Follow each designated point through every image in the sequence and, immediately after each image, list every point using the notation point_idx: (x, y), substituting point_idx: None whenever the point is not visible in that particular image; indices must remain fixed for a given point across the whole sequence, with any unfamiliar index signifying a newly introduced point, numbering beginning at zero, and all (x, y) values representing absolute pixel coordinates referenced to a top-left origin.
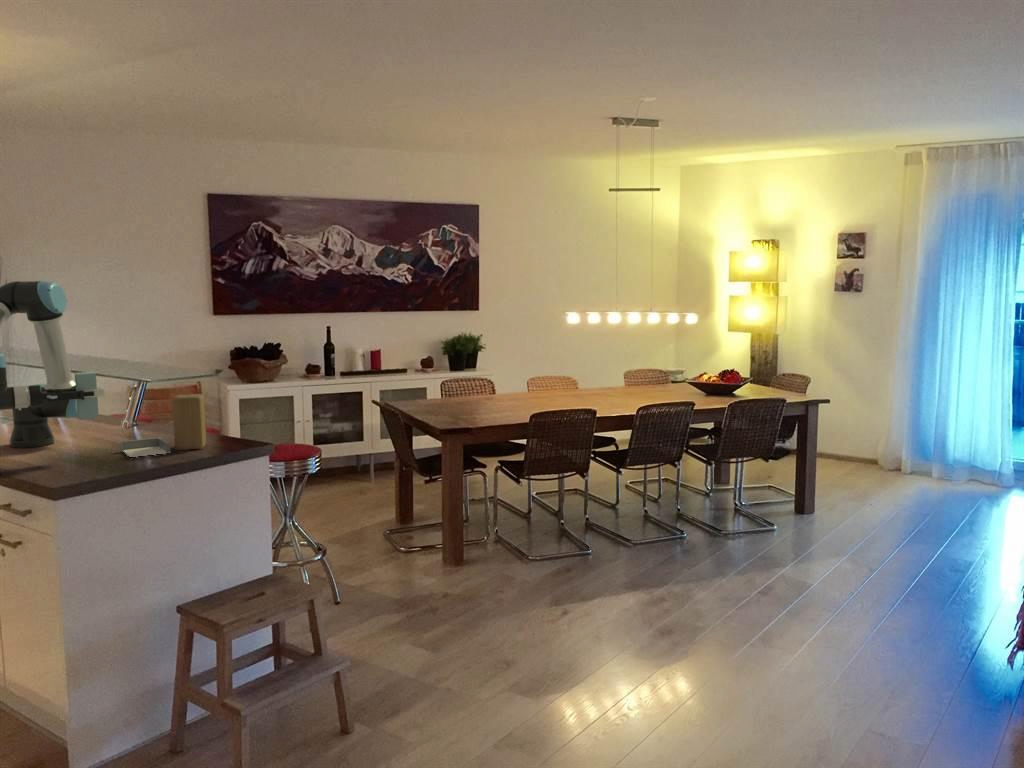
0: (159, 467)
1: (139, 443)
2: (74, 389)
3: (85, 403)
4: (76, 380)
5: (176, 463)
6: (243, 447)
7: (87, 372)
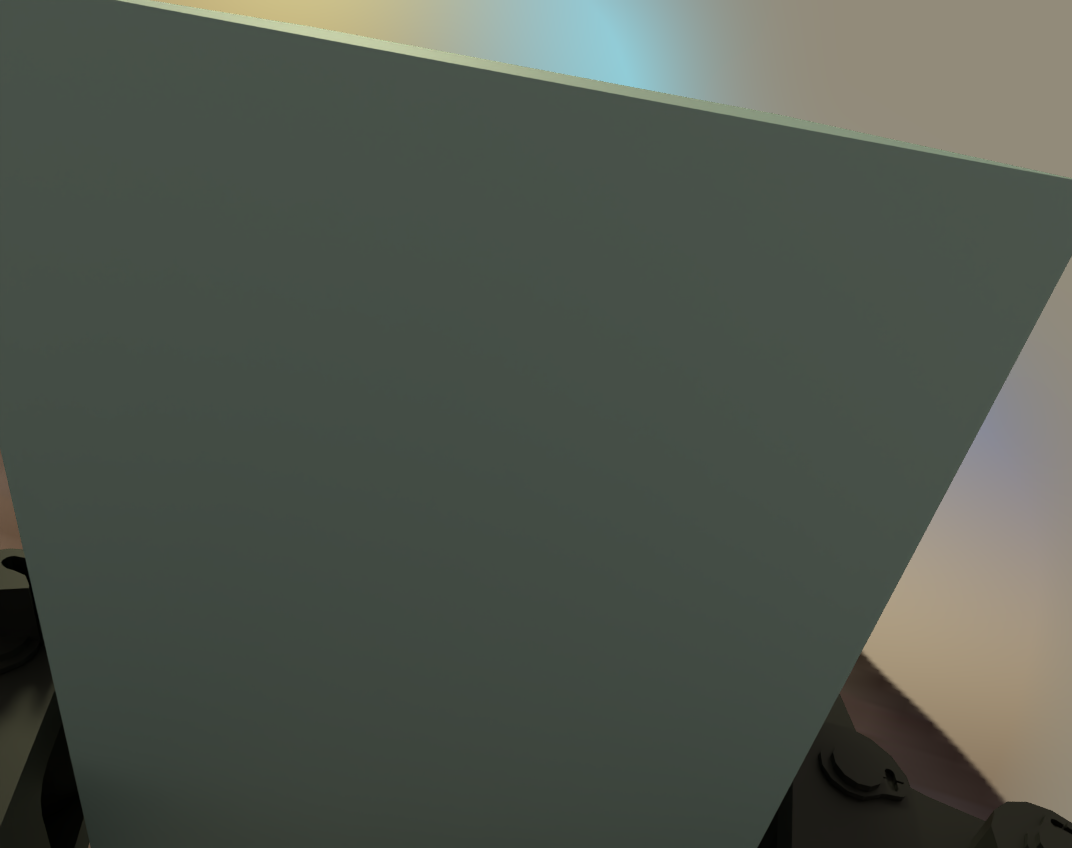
0: (982, 810)
1: None
2: (17, 804)
3: None
4: (593, 498)
5: (876, 704)
6: None
7: (364, 38)
